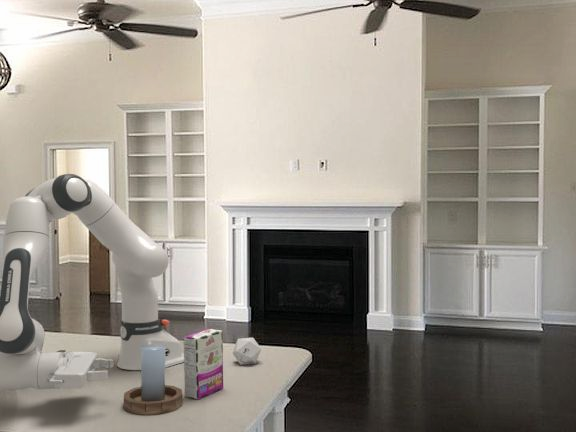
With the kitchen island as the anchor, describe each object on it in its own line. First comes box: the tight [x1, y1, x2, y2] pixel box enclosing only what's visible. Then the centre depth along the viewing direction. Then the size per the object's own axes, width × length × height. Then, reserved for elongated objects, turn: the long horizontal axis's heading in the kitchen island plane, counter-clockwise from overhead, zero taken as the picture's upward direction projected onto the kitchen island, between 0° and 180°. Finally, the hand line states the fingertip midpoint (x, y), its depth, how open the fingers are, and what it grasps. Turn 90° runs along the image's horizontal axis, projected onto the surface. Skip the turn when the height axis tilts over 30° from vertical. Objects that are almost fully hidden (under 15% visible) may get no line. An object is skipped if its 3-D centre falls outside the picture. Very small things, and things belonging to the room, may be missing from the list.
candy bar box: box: [183, 328, 224, 400], centre depth 171 cm, size 11×5×16 cm, turn 148°
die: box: [232, 337, 262, 366], centre depth 201 cm, size 8×9×10 cm
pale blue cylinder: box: [140, 344, 166, 402], centre depth 162 cm, size 6×6×14 cm
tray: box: [123, 384, 184, 416], centre depth 162 cm, size 15×15×3 cm
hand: (110, 368), depth 160 cm, fingers open, 8 cm apart
